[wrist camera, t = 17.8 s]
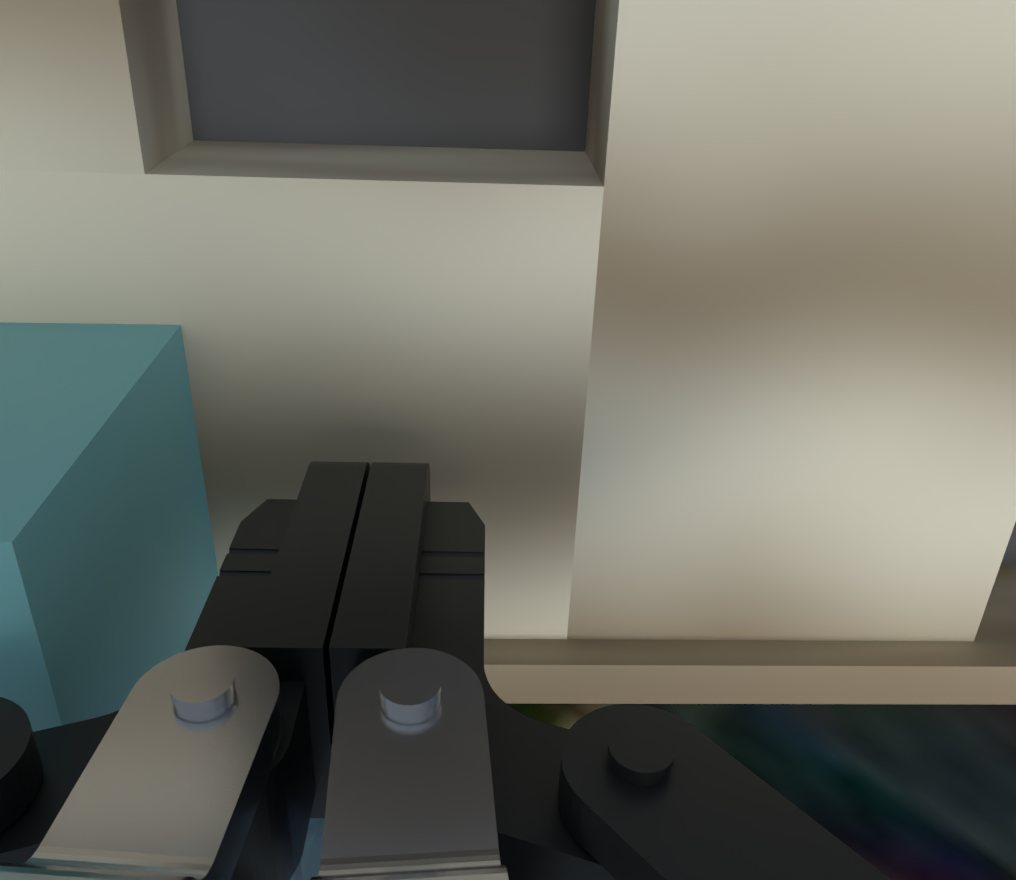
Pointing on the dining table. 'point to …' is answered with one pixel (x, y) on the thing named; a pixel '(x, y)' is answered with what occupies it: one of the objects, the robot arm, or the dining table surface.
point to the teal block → (96, 514)
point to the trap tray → (577, 305)
